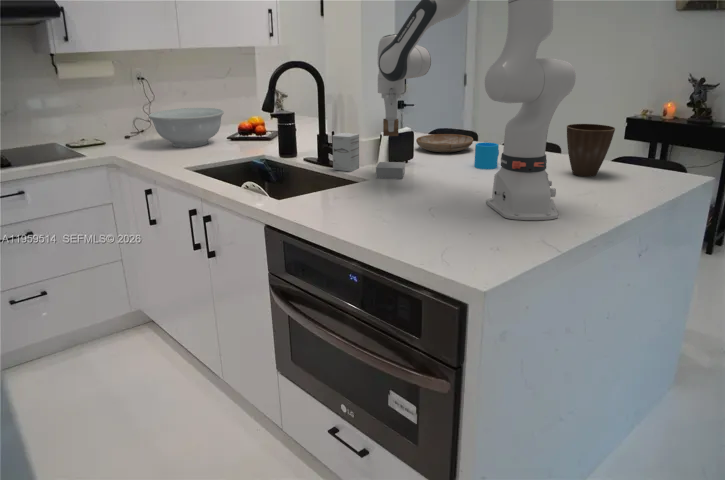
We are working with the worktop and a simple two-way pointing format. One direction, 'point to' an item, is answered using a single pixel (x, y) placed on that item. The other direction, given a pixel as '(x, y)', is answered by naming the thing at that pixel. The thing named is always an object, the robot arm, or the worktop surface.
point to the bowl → (187, 125)
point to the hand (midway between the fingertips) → (390, 129)
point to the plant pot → (588, 147)
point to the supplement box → (345, 151)
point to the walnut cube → (385, 128)
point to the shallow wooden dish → (444, 142)
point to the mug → (486, 155)
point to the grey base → (390, 170)
